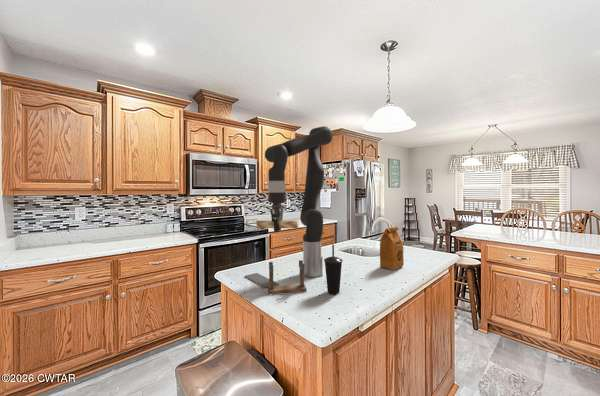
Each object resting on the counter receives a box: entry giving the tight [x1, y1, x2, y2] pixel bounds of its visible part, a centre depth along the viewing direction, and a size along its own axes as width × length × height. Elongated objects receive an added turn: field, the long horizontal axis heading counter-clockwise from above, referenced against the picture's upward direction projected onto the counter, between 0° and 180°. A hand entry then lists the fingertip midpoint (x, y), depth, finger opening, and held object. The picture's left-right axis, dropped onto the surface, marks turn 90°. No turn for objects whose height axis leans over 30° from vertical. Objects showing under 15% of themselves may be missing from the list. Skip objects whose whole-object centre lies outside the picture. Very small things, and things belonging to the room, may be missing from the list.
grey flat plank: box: [244, 272, 280, 289], centre depth 120 cm, size 20×7×1 cm, turn 39°
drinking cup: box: [323, 244, 344, 296], centre depth 105 cm, size 8×8×20 cm
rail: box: [255, 220, 299, 229], centre depth 110 cm, size 18×3×3 cm, turn 81°
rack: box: [267, 259, 307, 296], centre depth 107 cm, size 16×6×12 cm, turn 99°
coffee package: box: [379, 226, 404, 270], centre depth 138 cm, size 10×12×22 cm
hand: (277, 230), depth 110 cm, fingers closed on rail, 3 cm apart
